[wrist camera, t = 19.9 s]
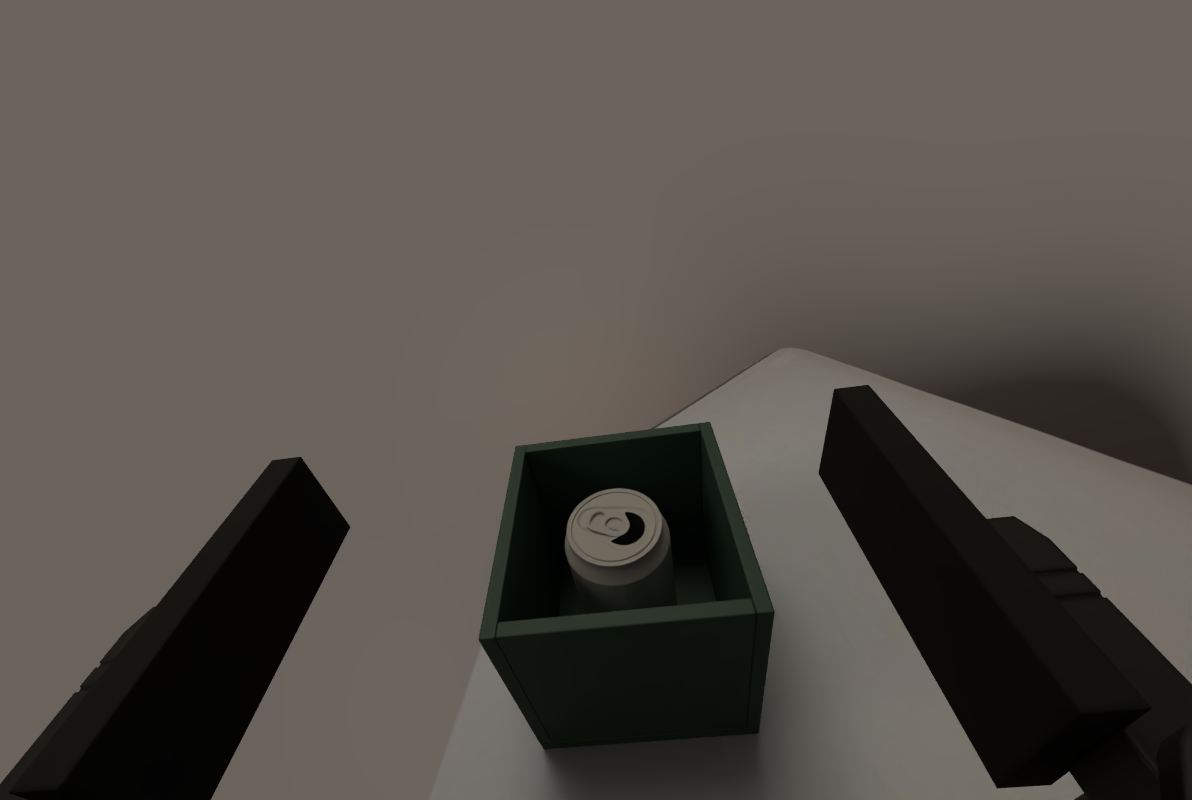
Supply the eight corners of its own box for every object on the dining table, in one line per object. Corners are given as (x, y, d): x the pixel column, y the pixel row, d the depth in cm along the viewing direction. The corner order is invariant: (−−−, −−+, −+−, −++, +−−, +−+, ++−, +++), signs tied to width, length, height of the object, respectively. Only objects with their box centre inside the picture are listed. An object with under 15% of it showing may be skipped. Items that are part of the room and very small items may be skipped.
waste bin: (543, 749, 30) (477, 639, 22) (555, 564, 41) (515, 445, 33) (758, 733, 29) (775, 612, 21) (711, 548, 40) (710, 421, 32)
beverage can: (664, 689, 31) (647, 585, 24) (577, 655, 33) (540, 552, 26) (689, 603, 35) (682, 494, 28) (611, 578, 38) (587, 474, 31)
